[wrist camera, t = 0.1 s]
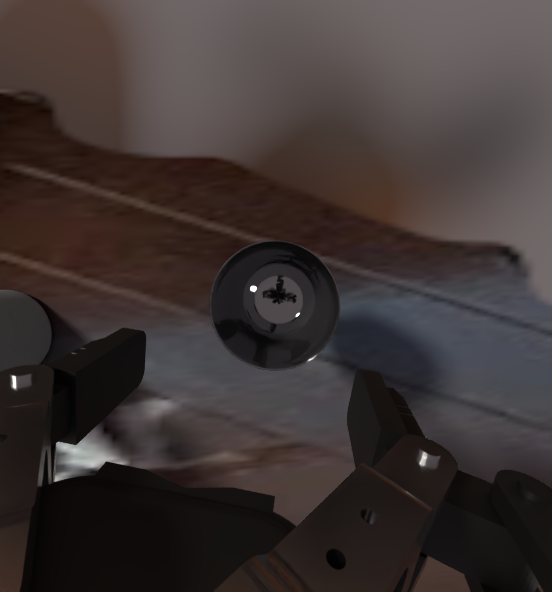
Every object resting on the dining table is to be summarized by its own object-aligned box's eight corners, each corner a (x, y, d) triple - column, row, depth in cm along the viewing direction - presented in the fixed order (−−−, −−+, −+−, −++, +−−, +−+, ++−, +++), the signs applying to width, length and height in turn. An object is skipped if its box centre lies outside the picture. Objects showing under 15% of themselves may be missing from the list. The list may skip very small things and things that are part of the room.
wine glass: (324, 253, 33) (343, 241, 18) (321, 328, 34) (337, 374, 19) (249, 252, 34) (209, 238, 19) (248, 325, 35) (208, 368, 20)
